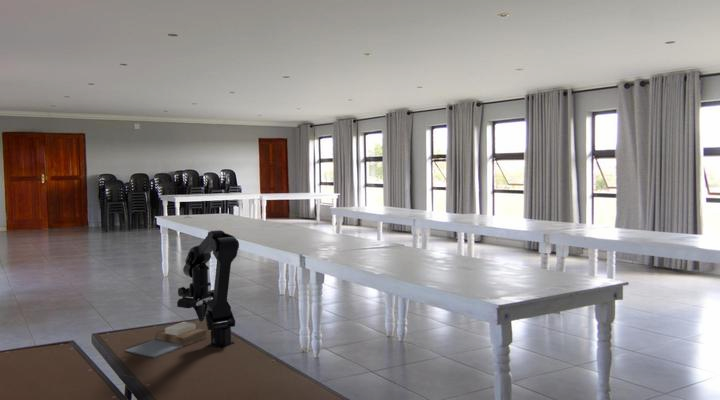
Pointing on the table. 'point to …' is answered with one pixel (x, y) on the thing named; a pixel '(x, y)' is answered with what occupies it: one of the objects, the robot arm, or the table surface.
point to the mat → (154, 348)
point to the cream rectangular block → (180, 328)
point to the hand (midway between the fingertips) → (201, 321)
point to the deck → (181, 337)
